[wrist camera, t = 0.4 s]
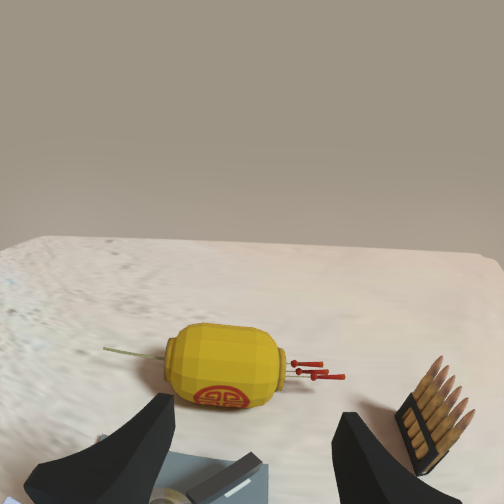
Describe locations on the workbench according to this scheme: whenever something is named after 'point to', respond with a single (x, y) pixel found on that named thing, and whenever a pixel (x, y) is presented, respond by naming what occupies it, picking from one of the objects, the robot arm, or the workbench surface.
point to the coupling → (210, 484)
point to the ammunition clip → (432, 419)
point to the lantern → (228, 365)
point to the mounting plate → (200, 469)
